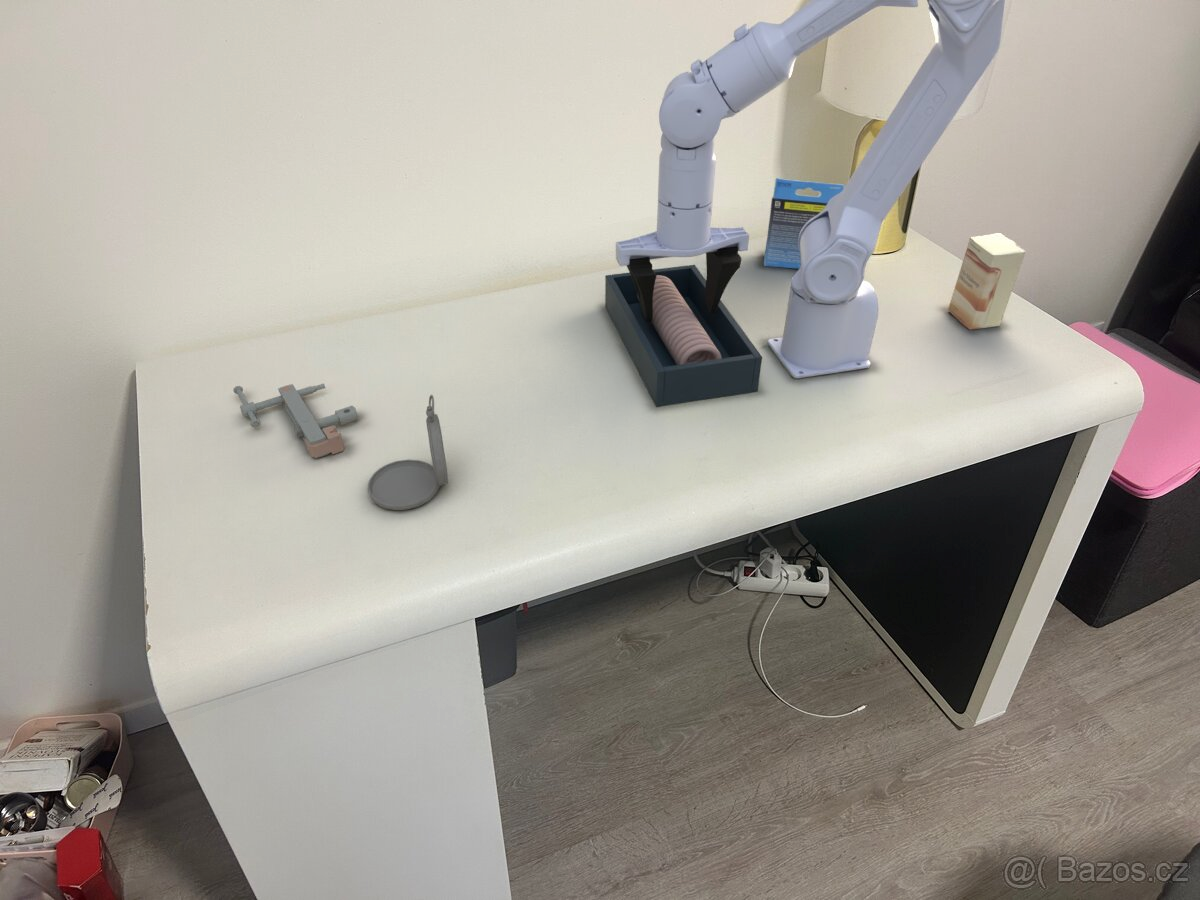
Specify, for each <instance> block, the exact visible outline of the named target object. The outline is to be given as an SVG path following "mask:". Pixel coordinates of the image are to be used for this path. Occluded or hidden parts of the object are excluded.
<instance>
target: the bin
mask: <svg viewBox="0 0 1200 900" xmlns="http://www.w3.org/2000/svg"><path fill="white" fill-rule="evenodd" d="M653 271H654V272H655V274H656V275H661V276H665V277H667V278H669V279H670V280H671V281H672V282H673V284H674V285H675V287H676V289H677V290H678V292H679V293H680V294H681V296H682V297H683V299H684V300H685V302H686V303H687V305H688V306H689V308H690V309H691V311H692V312H693V314H694V315H695V317H696V318H697V320H698V321H699V323H700V324H701V326H702V327H703V328H704V330H705V331H706V333H707V335H708V336H709V337H710V339H711V340H712V342H713V344H714V345H715V346H716V348H717V349H718V351H719V352H720V354H721V358H722V359H716V360H709V361H702V362H695V363H688V364H681V365H677V364H676V363H675V361H674V359H673V358H672V356H671V354H670V353H669V351H668V350H667V348H666V346H665V345H664V343H663V341H662V339H661V337H660V336H659V334H658V332H657V331H656V329H655V327H654V326H653V324H652V322H645V320H644V318H643V316H642V315H641V308H640V302H639V300H638V297H637V291H636V287H635V284H634V282H633V279H632V277H631V274H630V272H629V271H628V272H622V273H613V274H606V275H605V276H604V277H605V278H604V281H605V282H604V283H605V285H604V289H605V290H604V292H605V294H604V297H605V299H604V300H605V302H604V303H605V304H604V307H605V310H606V311H607V313H608V316H609V318H610V320H611V321H612V323H613V325H614V328H615V330H616V332H617V333H618V335H619V337H620V339H621V341H622V343H623V345H624V347H625V349H626V351H627V352H628V355H629V356H630V359H631V361H632V363H633V364H634V366H635V368H636V370H637V372H638V373H639V377H640V378H641V380H642V383H643V384H644V385H645V388H646V390H647V392H648V394H649V396H650V398H651V400H652V402H653V404H654V405H655V407H656V408H659V407H665V406H673V405H679V404H686V403H691V402H692V403H693V402H698V401H705V400H711V399H717V398H724V397H731V396H737V395H744V394H751V393H757V392H758V391H759V385H760V376H761V370H762V362H763V355H761V353H760V352H759V350H758V348H757V347H756V346H755V345H754V344H753V342H752V340H751V339H750V338H749V337H748V335H747V334H746V332H745V331H744V330H743V329H742V327H741V326H740V325H739V323H738V321H737V320H736V319H735V317H734V316H733V314H731V312H730V311H729V309H728V308H727V306H726V305H725V304H724V302H723V301H722V299H720V302H719V305H718V307H717V311H716V313H710V312H709V310H708V309H707V308H706V306H705V287H706V277H704V275H703V274H702V273H701V271H700V270H699V268H698V267H697V266H696V264H689V265H681V266H680V265H679V266H671V267H664V268H655V269H653Z"/></svg>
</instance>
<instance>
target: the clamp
mask: <svg viewBox="0 0 1200 900" xmlns="http://www.w3.org/2000/svg"><path fill="white" fill-rule="evenodd" d="M324 389H326V385H325V383H321V384H318V385H313V386H311V385H310V386H307V387H303V388H301V389H297V388H296V387H295V385H294V384H293V383H292V384H291V383H290V384H287V385H284V386H283V385H282V386H281V387H278V388H277V390H278V393H279V394H280V395H278V396H275V397H272V398H268V399H266V400H262V401H259V402H254V401H251V402H248V400H247V398H246V396H245V395H244V388H243V386H241V385H236V386H234V387H233V389H232V390H233V393H234V394H236V395H237V396H238V398H239V400H240V402H241V405H240V407H239V409H240V412H241V414H242V416H243V417H244V418H248V417H249V419H250V426H251V427H252V428H258V427H260V426H261V424H262V423H261V420H260V419H258V418H257V417H256V415H257V414H258V412H259V411H262V410H265V409H267V408H271V407H274V406H277V405H280V404H282V406H283V408H284V409H285V411H286V413H287V415H288V416H289V418H290V420H291V421H292V423H293V425H294V427H293V430H294V433H295V435H296V437H297V438H300V437H301V438H302V440H303V442H304V443H305V446H306V450H307V452H308V453H309V456H310V457H311V458H314V459H319V458H322V457H325V456H327V455H330V454H331V455H336V454H338V453H339V454H340V453H341V452H343V451H344V450H345V445H344V442H343V439H342V434H341V432H338V430H337V424H340V426H343V425H346V424H349V423H352V422H355V421H357V420H359V415H358V412H357V408H356V407H355V406H354V405H349V406H346V407H343V408H340V409H337V410H335V411H334V414H331V415H328V416H325V417H322V418H319V419H315V417H314V416H313V414H312V413H311V411H310V410H309V407H308V406H307V405H306V403H305V402H304V401H305V400H303V398H302V397H305V396H308V395H311V394H314V393H315V392H317V391H320V390H324Z"/></svg>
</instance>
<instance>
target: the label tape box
mask: <svg viewBox="0 0 1200 900" xmlns="http://www.w3.org/2000/svg"><path fill="white" fill-rule="evenodd" d="M774 179H775V180H774V188H773V195H772V197H771V203H770V214H769V221H768V227H767V234H766V241H765V249H764V258H763V266H765V267H772V268H783V269H796V270H799V269H800V267H801V256H800V251H799V247H798V237H799V234H800V231H801V229H802V228H803V226H804V225H805V224H806V222H808V221H809V220H810V219H811V218H813V217H814V216H816V215H818V214H819V213H820V212H821V211H822V210H823V209H824V208H825V206H826V205H827V203H828V202H829V200H830V199H831V198H832V197H834V196H836V195H837V194H839V193H840V192H842V191H843V189H844V188H845V184H843V183H842V184H840V183H830V182H829V183H827V182H826V183H825V182H819V181H807V180H798V179H797V180H796V179H787V178H779V177H775V178H774ZM807 189H809V190H810V191H811V192H816V193H818V195H817V196H816V195H805V194H798V193H797V191H806V190H807Z"/></svg>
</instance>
